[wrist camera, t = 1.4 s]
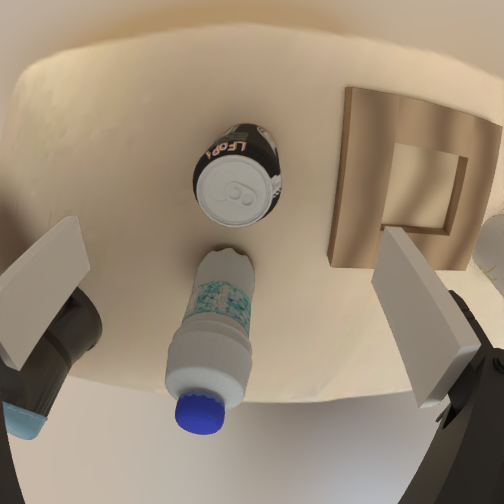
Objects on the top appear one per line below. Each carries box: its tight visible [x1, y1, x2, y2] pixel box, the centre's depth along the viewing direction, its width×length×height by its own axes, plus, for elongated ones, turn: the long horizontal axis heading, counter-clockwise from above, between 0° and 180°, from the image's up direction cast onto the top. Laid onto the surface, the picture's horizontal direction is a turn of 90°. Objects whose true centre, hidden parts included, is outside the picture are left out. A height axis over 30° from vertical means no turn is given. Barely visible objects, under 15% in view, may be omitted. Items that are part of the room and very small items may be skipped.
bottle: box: [165, 248, 255, 435], centre depth 26 cm, size 7×7×20 cm
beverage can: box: [193, 124, 282, 227], centre depth 23 cm, size 6×6×12 cm
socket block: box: [327, 87, 503, 271], centre depth 27 cm, size 18×18×2 cm
